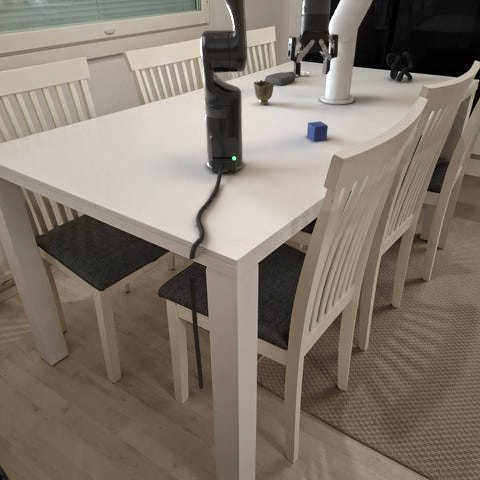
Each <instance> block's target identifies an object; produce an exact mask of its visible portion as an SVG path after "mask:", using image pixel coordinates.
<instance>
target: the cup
mask: <svg viewBox="0 0 480 480" xmlns="http://www.w3.org/2000/svg"><path fill="white" fill-rule="evenodd" d="M274 86H275V85H274V83H273V81H272V82H271V81H269V83H268V82H267V83H266V80H265V79H264V80H257V81H254V82H253V87H254V94H255V98H256V99H257V100H258V104H259V105H262V106H264V105H268V104H269V102H270V101H269V100H270V99H272V97H273V93H274Z"/></svg>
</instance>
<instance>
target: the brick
mask: <svg viewBox="0 0 480 480" xmlns="http://www.w3.org/2000/svg"><path fill="white" fill-rule="evenodd" d="M328 127H329V126H328V125H327V124H326V123H324V122H323V121H321V120H319V121H311V122H307V132H306V138H308V139H310V140H311V141H312V142H321V141H327V138H328Z"/></svg>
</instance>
